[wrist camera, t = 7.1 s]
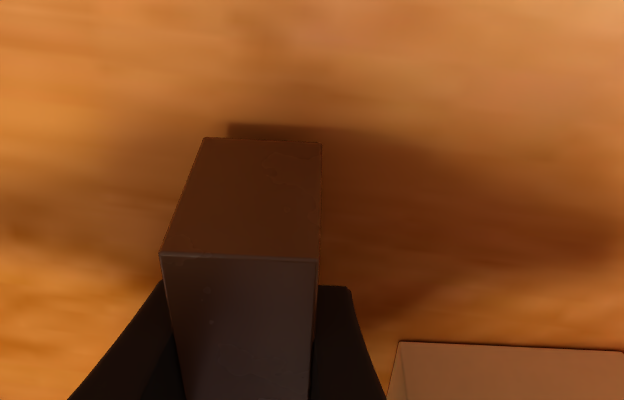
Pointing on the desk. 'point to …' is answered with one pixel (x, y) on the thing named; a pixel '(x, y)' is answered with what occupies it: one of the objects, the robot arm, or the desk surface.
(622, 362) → the cake
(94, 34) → the desk surface
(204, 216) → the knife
